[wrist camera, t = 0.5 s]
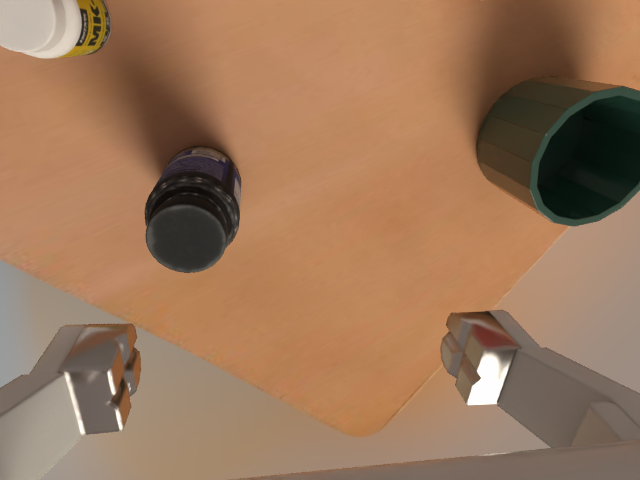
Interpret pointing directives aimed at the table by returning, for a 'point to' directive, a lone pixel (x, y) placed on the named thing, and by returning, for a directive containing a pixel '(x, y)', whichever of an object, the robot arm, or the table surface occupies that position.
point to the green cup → (564, 147)
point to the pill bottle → (193, 210)
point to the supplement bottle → (54, 27)
